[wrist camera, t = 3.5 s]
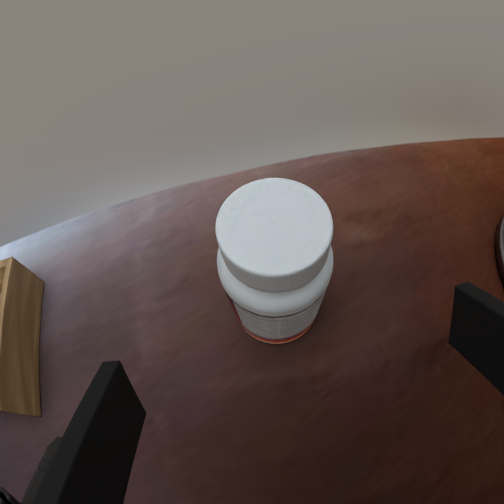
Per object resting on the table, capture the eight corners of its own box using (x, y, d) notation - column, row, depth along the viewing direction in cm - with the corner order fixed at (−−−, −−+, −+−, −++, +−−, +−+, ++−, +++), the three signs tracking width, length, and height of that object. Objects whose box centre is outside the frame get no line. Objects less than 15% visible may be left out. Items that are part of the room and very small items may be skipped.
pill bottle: (246, 263, 25) (224, 162, 15) (322, 276, 24) (348, 177, 14) (227, 336, 22) (182, 271, 12) (310, 352, 21) (337, 299, 11)
